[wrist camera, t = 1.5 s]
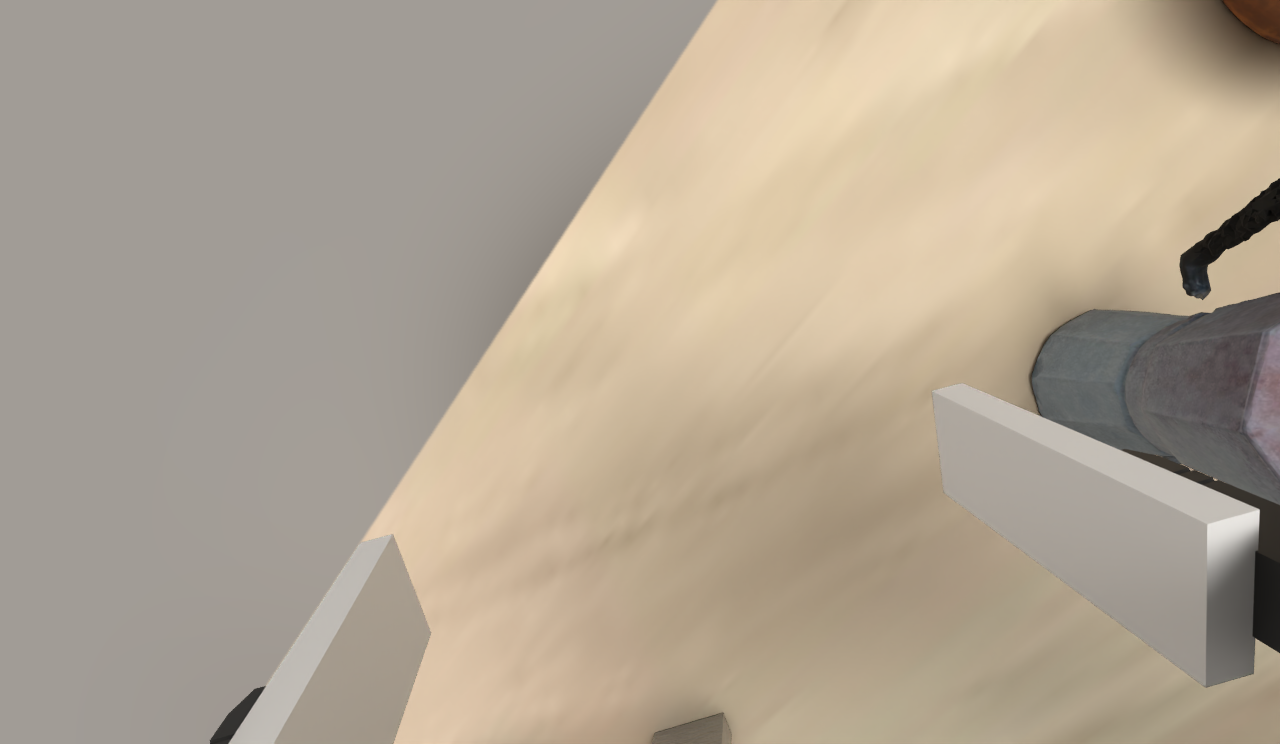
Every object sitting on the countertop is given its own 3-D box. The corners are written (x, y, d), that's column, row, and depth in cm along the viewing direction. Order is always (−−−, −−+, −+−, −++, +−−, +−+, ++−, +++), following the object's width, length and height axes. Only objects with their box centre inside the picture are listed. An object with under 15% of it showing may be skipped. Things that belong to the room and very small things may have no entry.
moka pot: (1058, 516, 38) (1394, 652, 19) (984, 281, 39) (1228, 177, 20) (1225, 478, 37) (1778, 583, 17) (1143, 236, 38) (1578, 74, 18)
